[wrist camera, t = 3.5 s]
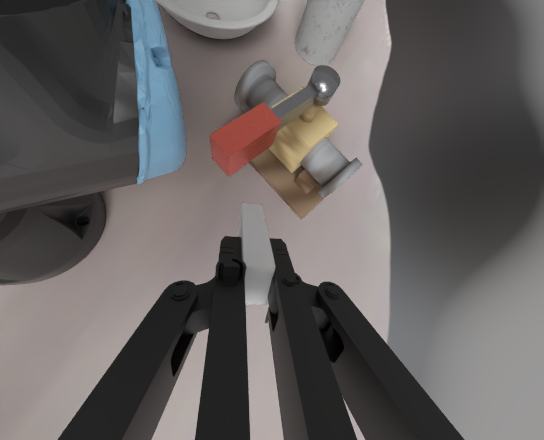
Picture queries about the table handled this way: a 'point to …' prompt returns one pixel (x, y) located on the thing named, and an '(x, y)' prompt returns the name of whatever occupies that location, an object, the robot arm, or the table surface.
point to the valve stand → (295, 145)
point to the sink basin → (220, 15)
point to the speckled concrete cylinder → (325, 29)
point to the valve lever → (268, 122)
